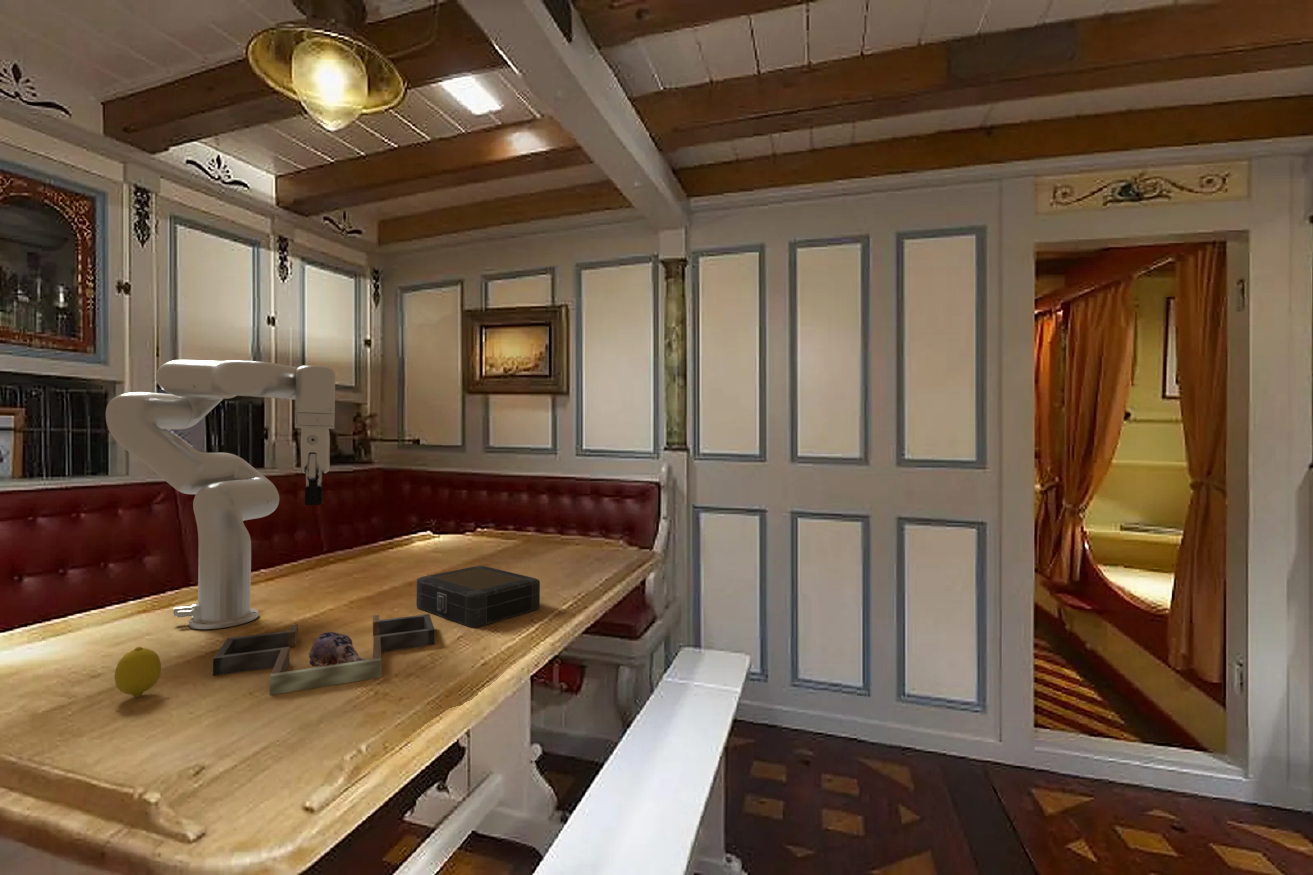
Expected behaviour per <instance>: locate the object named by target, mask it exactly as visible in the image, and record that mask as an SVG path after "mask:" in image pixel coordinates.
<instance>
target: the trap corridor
mask: <svg viewBox="0 0 1313 875" xmlns="http://www.w3.org/2000/svg"><path fill="white" fill-rule="evenodd" d="M435 633H436V631H435V627H434V623H433V620H432V618H431V613H426V614H425V613H424V614H418V615H410V616H409V615H408V616H403V617H402V616H401V617H400V616H399V617H394V618H383V619H380V614H377V615H372V638H373V639H372V640H373V641H372V642H373V643H372V644H373V645H372V648H373V650H372V654H373V656H372V658H369V659H364V660H363V661H356V662H349V663H342V664H335V665H328V666H322V667H320V666H314V667H309V668H301V669H294V670H289V671H287V670H288V667H289V664H290V648H295V647H296V644H297V642H298V640H299V639H298V638H299V637H298V636H299V635H298V634H299V624H291V625H290V627H289V629H288V630H285V631H284V630H283V631H278V632H277V631H275V632H274V631H273V632H269V633H268V632H267V633H259V634H258V633H257V634H251V635H243V636H233V637H227V638H226V640H225V641H224V643H223V644H222V645H221V647H220V649H219V650H218V651H217V653H216V654H215V655H214V657H213V658H212V664H213V665H212V676H213V677H214V676H219V675H227V674H229V675H230V674H234V673H242V672H249V671H256V670H263V669H271V668H272V671H271V673H270V676H269V696H272V695H278V694H285V693H290V692H298V691H303V690H304V691H305V690H310V689H315V688H323V687H329V686H335V685H340V684H341V685H342V684H348V683H353V682H361V681H367V680H372V679H379V678H382V653H383V652H390V651H397V650H404V649H412V648H419V647H425V646H432V645H433V646H434V645H435V638H436V637H435V636H436V634H435Z"/></svg>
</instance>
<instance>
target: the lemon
mask: <svg viewBox="0 0 1313 875" xmlns="http://www.w3.org/2000/svg"><path fill="white" fill-rule="evenodd" d="M161 670H162V664H161V659H160V657H159V655H158V654H157V653H156V652H155V651H154V650H152V649H150V648H145V647H142V646H137V647H135V648H134V649H132V650H130V651H129V652H127V653H125V654H123V656H122V657H121V658H120V659H119V661H118V663H117V665H116V667H115V671H114V682H115V686H116V688H117V689H118V690H119V691H120V692H121V693H123V694H126V695H131V696H133V697H135V698H137V697H138V698H139V697H141V696H142V695H143V694H144V693H145V692H147V691H148V690H150V689H151V688H152V687H154V686H155V685H156V683H158V680H159V679H160V676H161Z"/></svg>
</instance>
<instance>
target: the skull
mask: <svg viewBox="0 0 1313 875" xmlns="http://www.w3.org/2000/svg"><path fill="white" fill-rule="evenodd" d="M308 658H309V664H310V665H311V666H312V667H322V666H328V665H335V664H342V663H349V662H356V661H363V660H365V659H364V658H362V657H361V656H360V655H359V654H358V652H357V650H355V648H354V645H353V640H352V638H351V637H350V636H349V635H347V634H344V633H343V634H342V633H338V632H337V633H336V632H332V631H326V632H322V633H320V635H318V637H317V638H315V639H314V641H313V643H312V645H311V648H310V650H309V652H308Z"/></svg>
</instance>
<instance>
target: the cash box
mask: <svg viewBox="0 0 1313 875" xmlns="http://www.w3.org/2000/svg"><path fill="white" fill-rule="evenodd" d="M540 595H541V581H540V579H538V578H535V577H531V576H528V575H527V576H526V575H522V574H519V573H516V572H515V573H514V572H510V571H506V570H502V569H499V568H495V567H491V566H485V565H477V566H471V567H465V568H461V569H455V570H451V571H445V572H440V573H434V574H430V575H425V576H421V577H418V578H417V579H416V605H415V606H416V608H417V609H418V610H421V611H424V612H426V613H428V614H432V615H435V616H438V617H440V618H443V619H446V620H449V621H452V622H455V623H457V624H461V625H464V626H466V627H469V628H473V629H475V628H481V627H485V626H487V625H490V624H491V625H492V624H494V623H497V622H501V621H504V620H508V619H511V618H514V617H518V616H521V615H525V614H528V613H531V612H534V611H537V610H539V609H540V607H541V606H540V605H541V604H540V602H541V599H540V597H541V596H540Z"/></svg>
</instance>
